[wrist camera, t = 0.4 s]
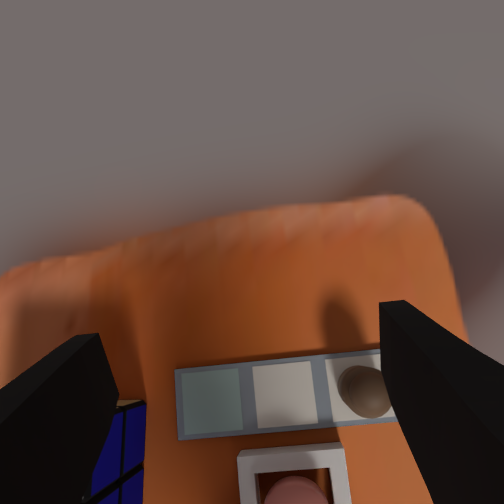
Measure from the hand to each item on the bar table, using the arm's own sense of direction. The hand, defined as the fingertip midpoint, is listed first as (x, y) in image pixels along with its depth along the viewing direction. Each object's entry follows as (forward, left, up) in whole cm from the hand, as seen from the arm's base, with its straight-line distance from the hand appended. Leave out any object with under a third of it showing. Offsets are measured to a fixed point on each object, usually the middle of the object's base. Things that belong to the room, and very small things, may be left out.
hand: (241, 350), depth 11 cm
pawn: (-3, -6, -25) cm, 26 cm away
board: (-3, 0, -26) cm, 26 cm away
